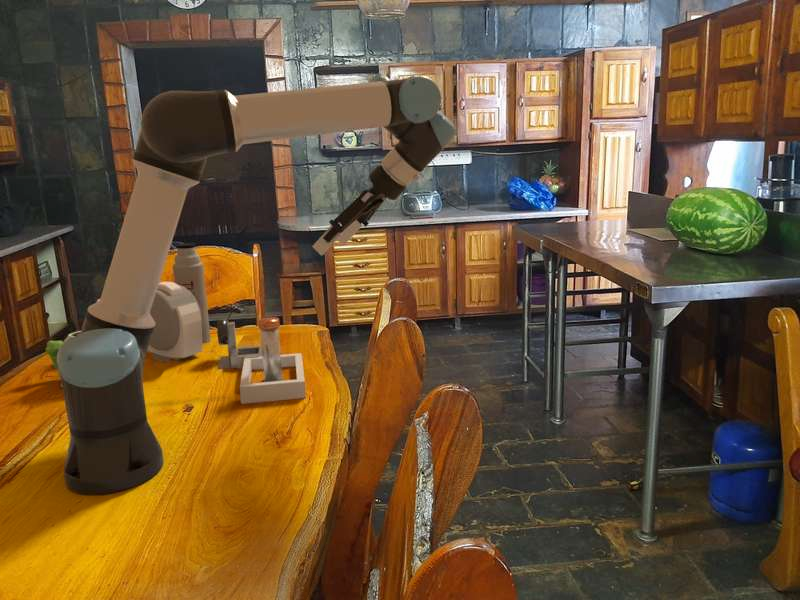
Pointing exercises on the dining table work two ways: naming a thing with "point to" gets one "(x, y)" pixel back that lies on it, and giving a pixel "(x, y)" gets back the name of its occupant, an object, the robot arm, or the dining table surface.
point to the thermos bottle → (192, 281)
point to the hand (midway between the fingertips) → (328, 246)
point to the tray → (275, 388)
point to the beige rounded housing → (175, 323)
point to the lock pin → (270, 348)
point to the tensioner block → (233, 347)
